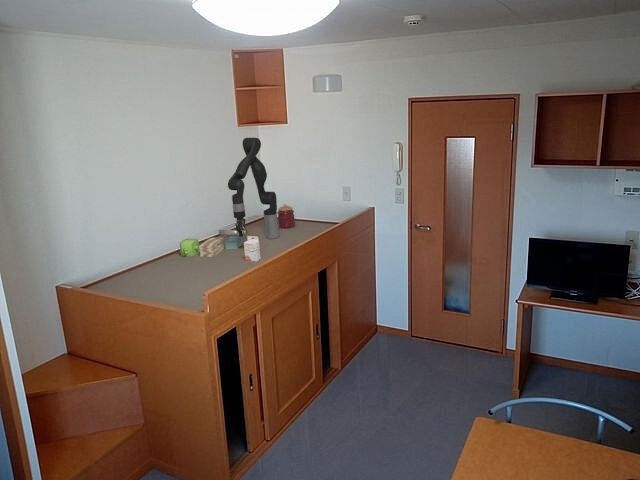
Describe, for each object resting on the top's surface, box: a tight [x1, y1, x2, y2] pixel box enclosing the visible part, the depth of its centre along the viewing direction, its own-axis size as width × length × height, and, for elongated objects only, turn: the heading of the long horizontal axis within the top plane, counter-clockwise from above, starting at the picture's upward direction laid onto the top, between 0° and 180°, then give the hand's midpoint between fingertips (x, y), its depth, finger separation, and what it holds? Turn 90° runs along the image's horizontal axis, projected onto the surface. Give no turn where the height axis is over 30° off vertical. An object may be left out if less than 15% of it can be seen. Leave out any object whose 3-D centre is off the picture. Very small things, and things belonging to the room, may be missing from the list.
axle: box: [218, 228, 248, 237], centre depth 351 cm, size 18×4×4 cm, turn 80°
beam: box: [199, 237, 225, 258], centre depth 356 cm, size 9×20×8 cm, turn 170°
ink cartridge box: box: [243, 235, 261, 262], centre depth 332 cm, size 9×5×15 cm, turn 65°
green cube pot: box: [179, 238, 201, 257], centre depth 354 cm, size 18×10×10 cm, turn 167°
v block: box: [224, 235, 244, 250], centre depth 367 cm, size 8×13×6 cm, turn 170°
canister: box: [277, 204, 296, 229], centre depth 413 cm, size 13×13×18 cm
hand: (241, 235), depth 350 cm, fingers closed on axle, 3 cm apart
